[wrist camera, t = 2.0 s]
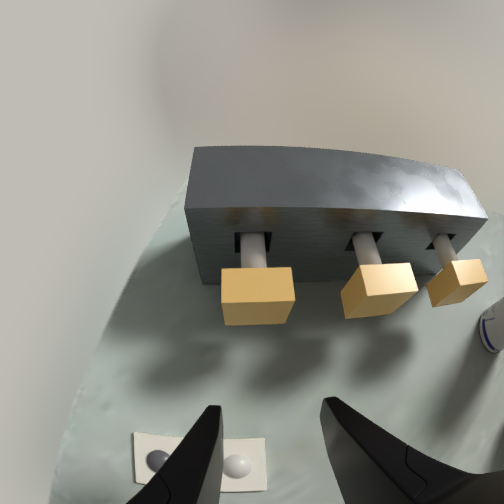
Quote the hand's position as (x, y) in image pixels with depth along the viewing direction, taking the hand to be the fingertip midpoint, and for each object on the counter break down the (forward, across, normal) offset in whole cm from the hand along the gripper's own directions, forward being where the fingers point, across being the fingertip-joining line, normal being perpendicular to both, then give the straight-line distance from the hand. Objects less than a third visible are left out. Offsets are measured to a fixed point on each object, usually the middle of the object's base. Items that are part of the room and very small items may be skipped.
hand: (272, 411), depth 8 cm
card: (+5, +4, +11) cm, 13 cm away
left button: (+12, 0, -1) cm, 12 cm away
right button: (+12, -16, -1) cm, 20 cm away
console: (+18, -8, -1) cm, 20 cm away
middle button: (+12, -8, -1) cm, 14 cm away
